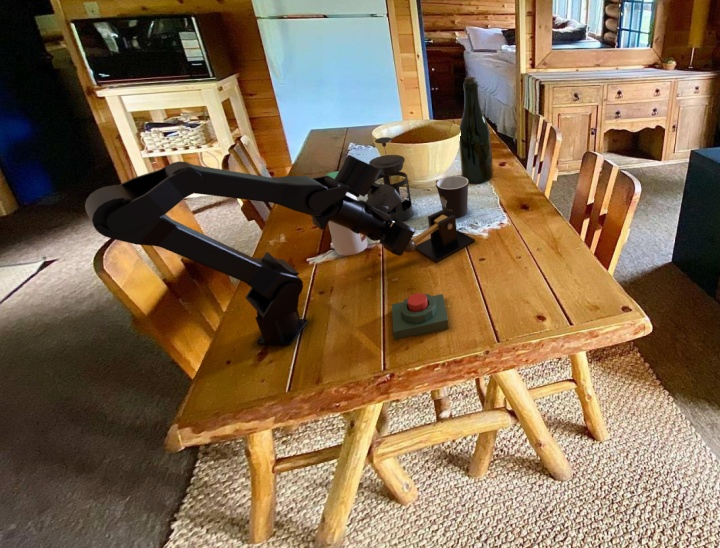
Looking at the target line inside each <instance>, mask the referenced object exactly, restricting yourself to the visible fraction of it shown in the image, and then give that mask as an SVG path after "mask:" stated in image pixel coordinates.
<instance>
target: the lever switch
mask: <svg viewBox="0 0 720 548" xmlns="http://www.w3.org/2000/svg"><path fill="white" fill-rule="evenodd" d="M441 215H445V211H444V210H443V209H441V210H439V211H436V212H434V213H432V214H430V215H428V216H427V221H428V228H430V227H431V226H433V225H434V224H435V223H434V220H435V219H437V218H438V217H440V216H441ZM456 220H457V219H455V216H454V215H451V216H449V217H447V218H445V219H443V220H441V221H439V222H438V225H439V229H437V230H436V231H435V232H433V233H432V234H430V235H429V238H428V239H426V240H424V241H421V242H419V243H417V244H416V247H415V249H414V250H413V251H415V252H417V253H419V254H421V255H422V256H424V257H426V258H427V259H429V260H431V261H432V262H434V263H436V264H439V263H441V262H442V261H444V260H446V259H448V258H449V257H451V256H453V255H455V254H456V253H458V252H460V251H462V250H463V249H465V248H467V247H470V246H471V245H473V244H474V243H476V239H475V238H473V237H471V236H469V235H467V234H465V233H463V232H461V231H460V230H458V229H457V221H456Z"/></svg>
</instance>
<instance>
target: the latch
mask: <svg viewBox="0 0 720 548" xmlns="http://www.w3.org/2000/svg"><path fill="white" fill-rule="evenodd" d="M445 218H447V216H445V215H441V216H440V217H438V218H437V219H435V220H434V223H435V224H434V225H433V226H431V227H430V228H429V227H428V228H427V229H425V230H424V231H423V232H421V233H419V234H418V235H417V236H415V237H412V238H411V240H410V242H409V244H408V246H407V247H406V249H405V251H404V253H408V254H409V253H412V252H413V251H415V250H414V249H415V247H416V245H418V244H419V243H421V242H422V241H423V240H425V239H426V238H427V237H430V234H432V233H433V232H435V231H436V230H437V229H439V225H438V222H439V221H441V220H443V219H445Z"/></svg>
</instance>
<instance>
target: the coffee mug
mask: <svg viewBox="0 0 720 548" xmlns="http://www.w3.org/2000/svg"><path fill="white" fill-rule="evenodd" d="M435 187H436V189H437V193H438V196H439V200H440V204H441V209H442V210H444V211H445V216H447V217H449V216H451V215H454V216H455V219H456V220H457V219H462V218H464V217H466V215H467V214H468V202H469V201H468V200H469V199H468V197H469V182H468V179H467V178H465V177H462V175H461V176H460V175H450V176H445V177H442V178H440V179H437V180H436V181H435Z"/></svg>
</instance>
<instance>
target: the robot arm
mask: <svg viewBox="0 0 720 548" xmlns="http://www.w3.org/2000/svg"><path fill="white" fill-rule="evenodd" d="M338 171H339V172H338V174H337V176H336V177H335V179H334V178H332V177H330V176H328V175H327V174H326V175H327V176H325V175H323V176H317V177H310V176H306V175H284V176H277V177H275V176H274V177H270V176H263V175H258V174H251V173H245V172H239V171H233V170H228V169H222V168H215V167H209V166H203V165H198V164H192V163H190V162H187V161H181V160H180V161H174V162H171V163H169V164H168V165H165V166H164V167H162V168H160V169H157V170H154V171H150V172H147V173H144V174H141V175H138V176H135V177H132V178H130V179H127V180H126V181H124V182H122V183H120V184H114V185H107V186H103V187H100V188H97V189H96V190H94V191H93V192H91V193H90V194H89V195H88V197H87V198H86V200H85V204H84V208H85V212H86V214H87V217H88V218H89V220H90V222H91V223H92V225H93V227H94V229H95V231H96V232H97V233H99V234H100V235H102V236H103V237H105V238H108V239H112V240H116V241H120V242H124V243H128V244H133V245H138V246H147V247H149V246H150V247H157V248H161V249H164V250H166V251H169V252H171V253H173V254H175V255H179V256H181V257H184V258H185V259H188V260H190V261H193V262H195V263H198V264H200V265H202V266H205V267H206V268H207V267H208V268H210V269H212V270H214V271H217V272H219V273H221V274H224V275H226V276H228V277H231V278H233V279H236V280H237V281H238V280H239V281H240V282H242V283H244V284H246V285H248V286H249V287H250V289H249V291H248V292H247V294H246V296H245V299H246V301H248V303H249V304H250V305H251V307H253V308H254V310H255V311H256V317H255V321H256V324H257V326H258V329H259V331H260V334H261V335H260V337H259V338H258V339H256V344H257V345H262V346H263V345H266V346H283V347H284V346H286V347H288V346H291V345H292V344H293V343H294V341H296V339H297V337H298V336H299V335H300V334H301V332H302V331H303V329H305V327H306V326H307V324H308V323H309V321H308V319H306V318H301V315H300V312H299V311H298V306H299V299H300V295H301V293H302V292H303V289H304V281H303V280H302V279H301V278H300V277H299V275H300V273H299V271H297V270H296V269H295V268H294V267H293V266H292V265H290V264H289V263H288V262H287V261H286V260H285V259H280V258H276V256H273V255H272V254H271V253H270V252H268V251H266V252H265V254H264V255H263V257H253V256H250V255H248V254H246V253H244V252H242V251H240V250H237V249H235V248H234V247H232V246H229V245H228V244H225V243H223V242H221V241H219V240H217V239H214V238H212V237H210V236H209V235H206V234H204V233H202V232H199V231H198V230H196V229H193V228H191V227H190V226H187V225H185V224H183V223H181V222H179V221H176V220H174V219H173V218H171V217H170V216H168V215H167V213H169V212H170V211H171V210H172V209H174V207H176V206H177V205H178V204H180V203H181V202H182V201H183V200H184V199H185V198H187V197H189V196H191V195H193V194H197V195H205V196H212V197H220V198H221V197H222V198H229V199H238V200H245V201H253V202H262V203H270V204H276V205H278V206H281V207H284V208H286V209H289V210H292V211H294V212H298V213H301V214H304V215H308V216H310V217H311V221H312V224H313V225H314V226H316V227H317V228H318V229H320V230H323V231H324V230H325V229H326V227H327V225H328V222H329V221H331V222H333V223H336V224H338V225H341V226H343V227H345V228H348V229H350V230H351V231H353V232H354V233H357V234H359V233H360V234H363V235H365V236H367V239H370V240H372V241H374V242H375V241H379V242H378V243H379V244H381V245H382V247H383V249H385V250H386V251H388V252H389V253H391V254H393V255H396V256H398V257H401V256H402V255H403V254H404V253H405V252H404V251H405V249H406V247H407V246H408V244H409V242H410V240H411V239H413V238H414V235H415V233H416V229H415V228H414V227H413V226H410V225H409V224H406V223H405V222H401V221H399V220H397V219H396V218H393V219H392V220H391V217H390V215H389V214H390V213H391V212H392V211H391V210H392V209H393V208H394V207H395V206H396V205H397V204H399V203H400V202H401V201H402V197H401V196H400V195H399V193H398V192H397V191H396V189H395V188H393V187H391V186H389V185H387V184H384V183H379V184H380V186H378V185H375V184H373V183H374V181H375V180H376V178H377V176H378V175H379V173H380V170H379V169H377V168H375V167H374V166H372V165H370V164H369V163H367V162H366V161H363V160H361V159H359V158H357V157H355V156H353V155H350V154H347V156H346V157H345V159H344V162H343V164H342V166H341V167H340V169H339V170H338ZM347 192H348V193H350V194H352V195H354V196H355V197H356V198H357V200H355V199H353V198H351V197H349V196H346V193H347ZM360 196H361V197H363V198H365V197H367V199H366V200H364V199H359V200H358V198H360ZM390 211H391V212H390Z"/></svg>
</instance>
